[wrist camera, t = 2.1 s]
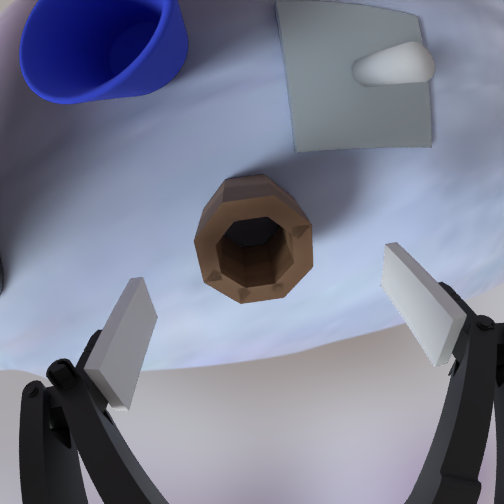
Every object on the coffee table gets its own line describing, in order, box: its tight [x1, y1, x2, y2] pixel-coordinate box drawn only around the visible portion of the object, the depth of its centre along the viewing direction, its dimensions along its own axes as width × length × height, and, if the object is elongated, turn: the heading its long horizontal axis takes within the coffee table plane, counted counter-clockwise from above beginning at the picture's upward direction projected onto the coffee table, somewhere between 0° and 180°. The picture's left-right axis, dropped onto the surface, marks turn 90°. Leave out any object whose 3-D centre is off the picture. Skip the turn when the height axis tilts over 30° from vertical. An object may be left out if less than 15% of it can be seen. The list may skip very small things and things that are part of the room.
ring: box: [194, 174, 313, 304], centre depth 20 cm, size 7×7×6 cm
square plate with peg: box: [274, 0, 435, 153], centre depth 14 cm, size 12×12×8 cm
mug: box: [19, 0, 188, 104], centre depth 11 cm, size 8×12×10 cm
